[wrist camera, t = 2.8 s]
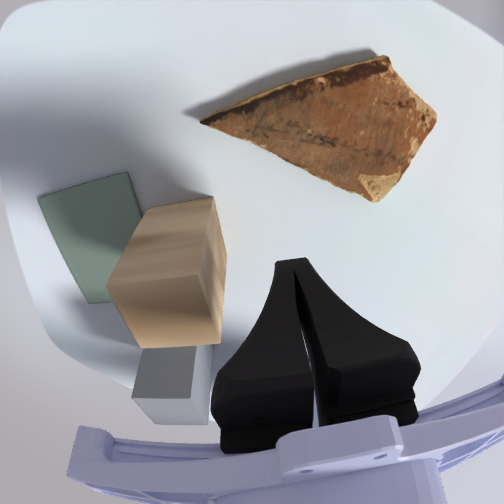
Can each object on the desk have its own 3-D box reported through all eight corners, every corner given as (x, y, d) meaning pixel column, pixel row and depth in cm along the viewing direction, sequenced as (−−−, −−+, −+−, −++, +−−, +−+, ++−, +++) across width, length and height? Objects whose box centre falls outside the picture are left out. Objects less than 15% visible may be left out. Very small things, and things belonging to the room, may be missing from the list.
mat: (171, 293, 21) (170, 296, 21) (90, 301, 21) (88, 303, 21) (127, 171, 16) (125, 173, 16) (39, 198, 16) (37, 199, 16)
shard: (202, 118, 15) (197, 124, 13) (267, -6, 11) (269, -14, 10) (369, 199, 18) (380, 213, 16) (432, 98, 14) (449, 104, 12)
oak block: (227, 255, 19) (220, 343, 13) (166, 263, 20) (140, 348, 14) (213, 196, 17) (197, 274, 11) (147, 208, 17) (105, 286, 12)
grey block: (213, 349, 24) (208, 424, 19) (168, 352, 25) (155, 424, 19) (200, 315, 22) (190, 398, 16) (151, 320, 22) (131, 397, 17)
